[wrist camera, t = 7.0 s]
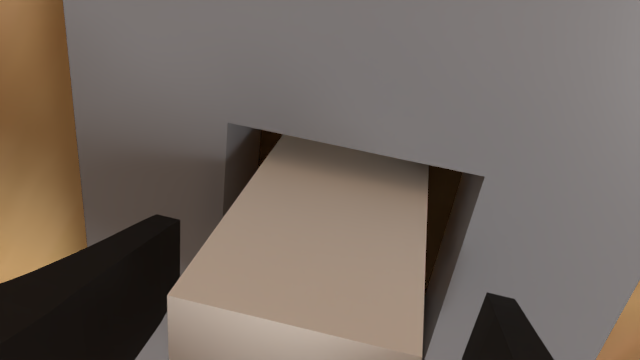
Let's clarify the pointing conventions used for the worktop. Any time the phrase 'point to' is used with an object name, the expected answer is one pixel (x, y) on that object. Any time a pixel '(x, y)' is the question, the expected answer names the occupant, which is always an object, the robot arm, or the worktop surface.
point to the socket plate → (385, 134)
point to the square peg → (310, 263)
